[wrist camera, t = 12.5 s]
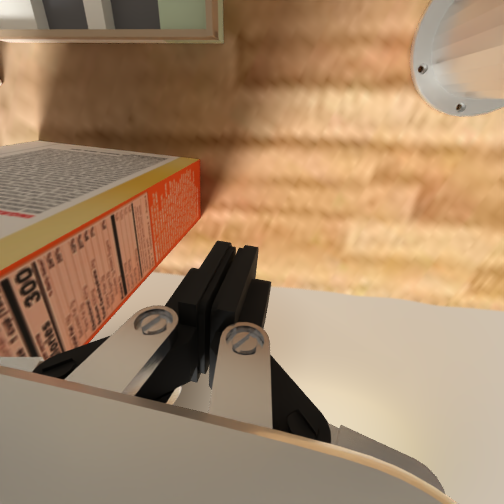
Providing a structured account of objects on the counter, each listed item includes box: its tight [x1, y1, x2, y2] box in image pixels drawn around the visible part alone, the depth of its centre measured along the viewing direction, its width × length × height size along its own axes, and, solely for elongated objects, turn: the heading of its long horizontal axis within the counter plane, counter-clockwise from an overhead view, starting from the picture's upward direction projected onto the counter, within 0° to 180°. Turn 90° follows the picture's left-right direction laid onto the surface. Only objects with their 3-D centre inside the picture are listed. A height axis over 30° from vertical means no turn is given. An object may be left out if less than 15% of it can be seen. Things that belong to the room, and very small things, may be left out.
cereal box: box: [0, 141, 201, 361], centre depth 26 cm, size 23×8×30 cm, turn 86°
